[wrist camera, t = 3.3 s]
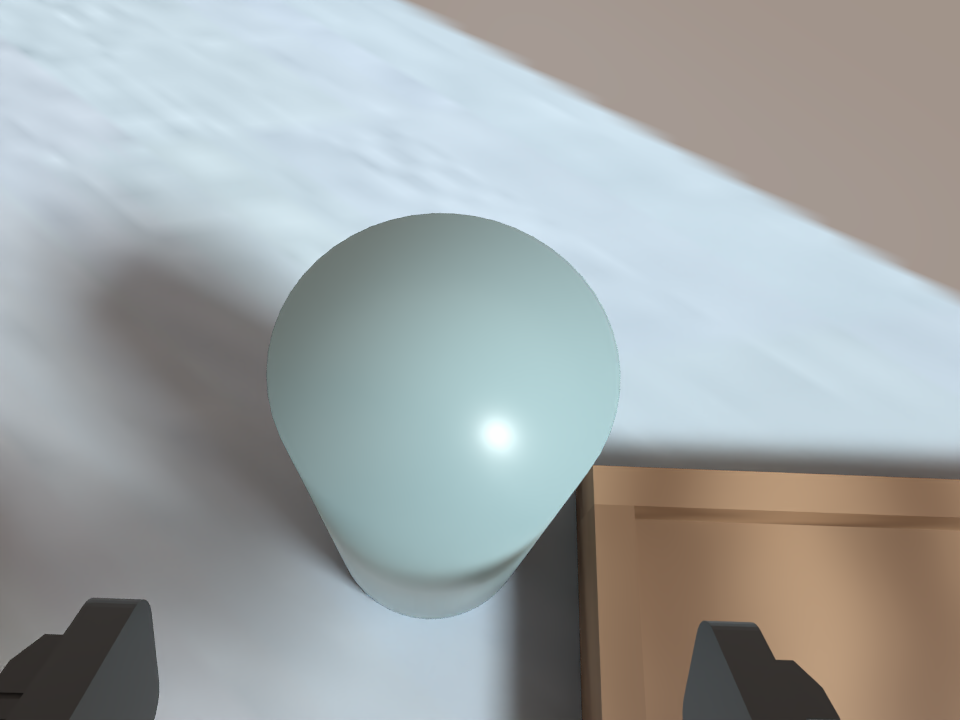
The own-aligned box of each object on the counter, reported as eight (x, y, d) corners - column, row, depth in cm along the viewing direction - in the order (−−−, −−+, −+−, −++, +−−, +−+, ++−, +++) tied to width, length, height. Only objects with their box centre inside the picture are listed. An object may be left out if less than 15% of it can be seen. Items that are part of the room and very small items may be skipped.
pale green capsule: (327, 615, 21) (241, 530, 10) (346, 425, 23) (290, 202, 13) (526, 622, 21) (628, 547, 11) (526, 434, 23) (612, 224, 13)
